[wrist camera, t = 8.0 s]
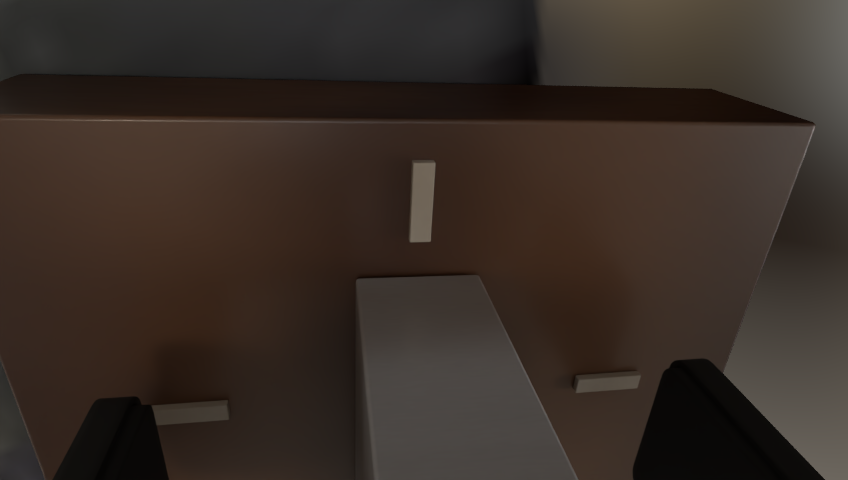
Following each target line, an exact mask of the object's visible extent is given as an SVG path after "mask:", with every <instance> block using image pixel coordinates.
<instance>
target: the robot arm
mask: <svg viewBox="0 0 848 480" xmlns="http://www.w3.org/2000/svg"><path fill="white" fill-rule="evenodd" d="M53 480H169V477H168V473H167V468H166V464H165V460H164V455H163V451H162V447H161V442H160V438H159V433H158V429H157V425H156V420H155V416H154V411H153V408H152V406H151V405H142V404H141V401H140V399H139V398H138V397H137V396H130V397H115V398H100V399H97V400H96V401H95V402H94V403H93V405H92V406H91V408H90V410H89V412H88V414H87V416H86V417H85V419H84V421H83V423H82V425H81V427H80V429H79V431H78V433H77V434H76V436H75V438H74V440H73V442H72V444H71V446H70V448H69V449H68V451H67V453H66V455H65V457H64V459H63V461H62V463H61V465H60V466H59V468H58V470H57V472H56V474H55V476H54V478H53ZM633 480H825V479H824V478H823V477H822V476H821V475H820V474H819V473H818V472H817V471H816V470H815V469H814V468H813V467H812V466H811V465H810V464H809V463H808V462H807V461H806V460H805V459H804V458H803V456H802V455H801V454H800V453H799V452H798V451H797V450H796V449H794V447H793V446H792V445H791V444H790V443H789V442H788V441H787V440H786V439H785V438H784V437H783V436H782V435H781V434H780V433H779V431H778V430H776V429H775V427H774V426H773V425H772V424H771V423H770V422H769V421H768V420H767V419H766V418H765V417H764V416H763V415H762V414H761V413H760V412H759V411H758V410H757V409H756V408H755V406H754V405H753V404H752V403H751V402H750V401H749V400H748V399H747V398H746V397H745V396H744V395H743V394H742V393H741V392H740V391H739V390H738V389H737V388H736V387H735V386H734V385H733V384H732V383H731V382H730V380H729V379H728V378H727V377H726V376H724V374H723V373H722V372H721V371H720V370H719V369H718V368H717V367H716V366H715V365H714V364H713V363H712V362H711V361H709V360H708V359H704V358H701V359H686V360H676V361H674V362H672V363H671V365H670V367H669V369H666V370H665V371H664V372H663V374H662V377H661V380H660V383H659V386H658V389H657V392H656V396H655V399H654V402H653V405H652V408H651V411H650V415H649V418H648V421H647V424H646V427H645V430H644V433H643V437H642V440H641V443H640V446H639V449H638V452H637V456H636V459H635V462H634V465H633Z"/></svg>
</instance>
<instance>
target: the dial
mask: <svg viewBox="0 0 848 480" xmlns="http://www.w3.org/2000/svg"><path fill="white" fill-rule="evenodd" d="M355 480H578V478H577V476H576V474H575V472H574V470H573V468H572V466H571V464H570V461H569V459H568V457H567V455H566V453H565V451H564V449H563V447H562V445H561V443H560V441H559V439H558V437H557V435H556V433H555V431H554V429H553V427H552V425H551V423H550V421H549V418H548V416H547V414H546V412H545V410H544V408H543V406H542V404H541V402H540V400H539V398H538V396H537V394H536V392H535V390H534V388H533V386H532V384H531V382H530V380H529V377H528V375H527V373H526V371H525V369H524V367H523V365H522V363H521V361H520V359H519V357H518V355H517V353H516V351H515V349H514V347H513V345H512V343H511V341H510V339H509V337H508V334H507V332H506V330H505V328H504V326H503V324H502V322H501V320H500V318H499V316H498V314H497V312H496V310H495V308H494V306H493V304H492V302H491V300H490V298H489V296H488V293H487V291H486V289H485V287H484V285H483V283H482V281H481V279H480V277H479V276H478V275H454V276H423V277H391V278H359V279H357V280H356V355H355Z"/></svg>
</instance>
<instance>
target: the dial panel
mask: <svg viewBox="0 0 848 480" xmlns="http://www.w3.org/2000/svg"><path fill="white" fill-rule="evenodd" d="M815 126H816V125H815V124H814V123H813V122H810V121H807V120H804V119H801V118H798V117H795V116H792V115H789V114H786V113H783V112H780V111H777V110H774V109H770V108H767V107H765V106H762V105H758V104H755V103H752V102H749V101H746V100H743V99H740V98H737V97H734V96H731V95H728V94H725V93H722V92H718V91H716V90H712V89H686V88H637V87H592V86H546V85H500V84H454V83H408V82H361V81H315V80H269V79H222V78H176V77H130V76H83V75H37V74H20V75H17V76H14V77H11V78H9V79H6V80H3V81H0V360H1V363H2V366H3V368H4V371H5V374H6V376H7V379H8V382H9V384H10V387H11V390H12V392H13V395H14V398H15V400H16V403H17V406H18V408H19V411H20V414H21V416H22V419H23V422H24V424H25V427H26V430H27V432H28V435H29V438H30V440H31V443H32V446H33V448H34V451H35V454H36V457H37V459H38V462H39V465H40V467H41V470H42V473H43V475H44V478H45V480H53V478H54V476H55V474H56V472H57V470H58V468H59V466H60V465H61V463H62V461H63V459H64V457H65V455H66V453H67V451H68V449H69V448H70V446H71V444H72V442H73V440H74V438H75V436H76V434H77V433H78V431H79V429H80V427H81V425H82V423H83V421H84V419H85V417H86V416H87V414H88V412H89V410H90V408H91V406H92V405H93V403H94V402H95V401H96V400H97V399H100V398H115V397H130V396H137V397H138V398H139V399H140V401H141V404H142V405H151V406H152V408H153V411H154V416H155V420H156V425H157V429H158V433H159V438H160V442H161V447H162V451H163V455H164V460H165V464H166V468H167V473H168V477H169V480H355V355H356V280H357V279H359V278H391V277H423V276H454V275H478V276H479V277H480V279H481V281H482V283H483V285H484V287H485V289H486V291H487V293H488V296H489V298H490V300H491V302H492V304H493V306H494V308H495V310H496V312H497V314H498V316H499V318H500V320H501V322H502V324H503V326H504V328H505V330H506V332H507V334H508V337H509V339H510V341H511V343H512V345H513V347H514V349H515V351H516V353H517V355H518V357H519V359H520V361H521V363H522V365H523V367H524V369H525V371H526V373H527V375H528V377H529V380H530V382H531V384H532V386H533V388H534V390H535V392H536V394H537V396H538V398H539V400H540V402H541V404H542V406H543V408H544V410H545V412H546V414H547V416H548V418H549V421H550V423H551V425H552V427H553V429H554V431H555V433H556V435H557V437H558V439H559V441H560V443H561V445H562V447H563V449H564V451H565V453H566V455H567V457H568V459H569V461H570V464H571V466H572V468H573V470H574V472H575V474H576V476H577V478H578V480H633V465H634V462H635V459H636V456H637V452H638V449H639V446H640V443H641V440H642V437H643V433H644V430H645V427H646V424H647V421H648V418H649V415H650V411H651V408H652V405H653V402H654V399H655V396H656V392H657V389H658V386H659V383H660V380H661V377H662V374H663V372H664V371H665V370H666V369H669V367H670V365H671V363H672V362H674V361H676V360H686V359H701V358H704V359H708V360H709V361H711V362H712V363H713V364H714V365H715V366H716V367H717V368H718V369H719V370H720V371H721V372H722V373H723V371H724V368H725V366H726V363H727V361H728V358H729V355H730V353H731V350H732V347H733V345H734V342H735V339H736V337H737V334H738V331H739V329H740V326H741V323H742V321H743V318H744V316H745V313H746V310H747V307H748V305H749V302H750V300H751V297H752V294H753V292H754V289H755V286H756V284H757V281H758V278H759V276H760V273H761V271H762V268H763V265H764V262H765V260H766V257H767V255H768V252H769V249H770V247H771V244H772V241H773V239H774V236H775V233H776V231H777V228H778V225H779V223H780V220H781V217H782V215H783V212H784V209H785V206H786V204H787V202H788V199H789V196H790V194H791V191H792V188H793V185H794V183H795V180H796V178H797V175H798V172H799V170H800V167H801V164H802V162H803V159H804V157H805V154H806V151H807V149H808V146H809V143H810V141H811V138H812V135H813V133H814V130H815Z"/></svg>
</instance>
